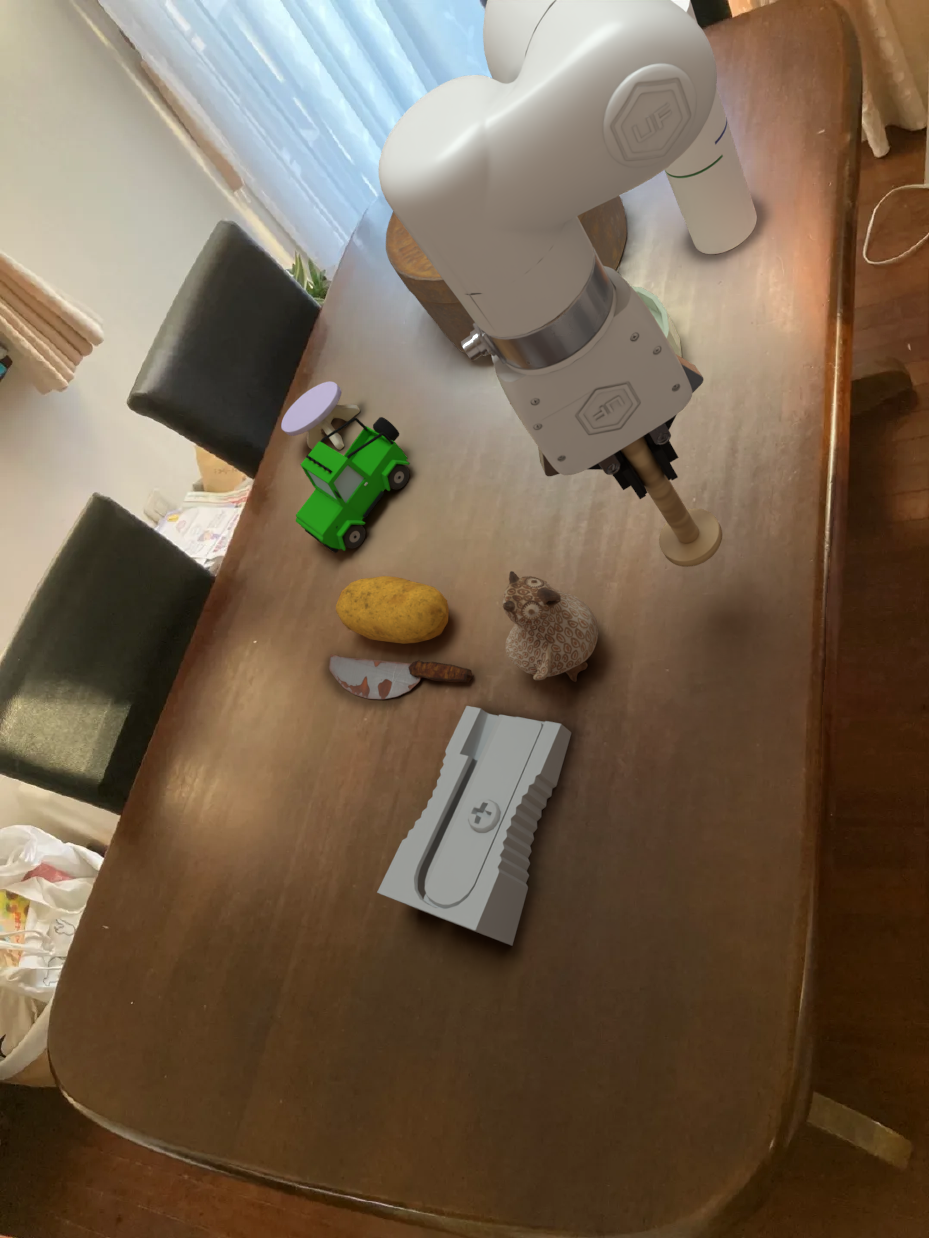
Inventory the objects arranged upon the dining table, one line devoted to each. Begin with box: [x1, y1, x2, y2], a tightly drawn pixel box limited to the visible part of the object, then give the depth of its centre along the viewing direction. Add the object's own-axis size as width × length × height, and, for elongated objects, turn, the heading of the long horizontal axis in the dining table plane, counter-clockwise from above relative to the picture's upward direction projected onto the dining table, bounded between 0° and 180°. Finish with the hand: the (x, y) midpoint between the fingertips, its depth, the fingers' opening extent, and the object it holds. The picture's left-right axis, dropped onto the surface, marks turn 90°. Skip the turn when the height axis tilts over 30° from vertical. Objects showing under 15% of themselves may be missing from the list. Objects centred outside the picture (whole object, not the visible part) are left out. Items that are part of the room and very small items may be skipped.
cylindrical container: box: [664, 0, 758, 255], centre depth 84 cm, size 7×7×25 cm
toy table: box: [280, 381, 361, 451], centre depth 114 cm, size 10×9×6 cm
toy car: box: [295, 416, 411, 554], centre depth 103 cm, size 8×17×10 cm, turn 136°
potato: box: [335, 575, 450, 645], centre depth 92 cm, size 7×14×7 cm, turn 68°
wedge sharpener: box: [376, 705, 572, 947], centre depth 76 cm, size 11×20×7 cm, turn 159°
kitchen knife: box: [328, 653, 474, 700], centre depth 92 cm, size 21×2×5 cm
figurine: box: [502, 570, 599, 683], centre depth 76 cm, size 9×10×15 cm
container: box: [385, 195, 628, 356], centre depth 103 cm, size 28×28×15 cm
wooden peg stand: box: [621, 436, 723, 568], centre depth 62 cm, size 5×5×15 cm
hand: (651, 474), depth 61 cm, fingers closed on wooden peg stand
